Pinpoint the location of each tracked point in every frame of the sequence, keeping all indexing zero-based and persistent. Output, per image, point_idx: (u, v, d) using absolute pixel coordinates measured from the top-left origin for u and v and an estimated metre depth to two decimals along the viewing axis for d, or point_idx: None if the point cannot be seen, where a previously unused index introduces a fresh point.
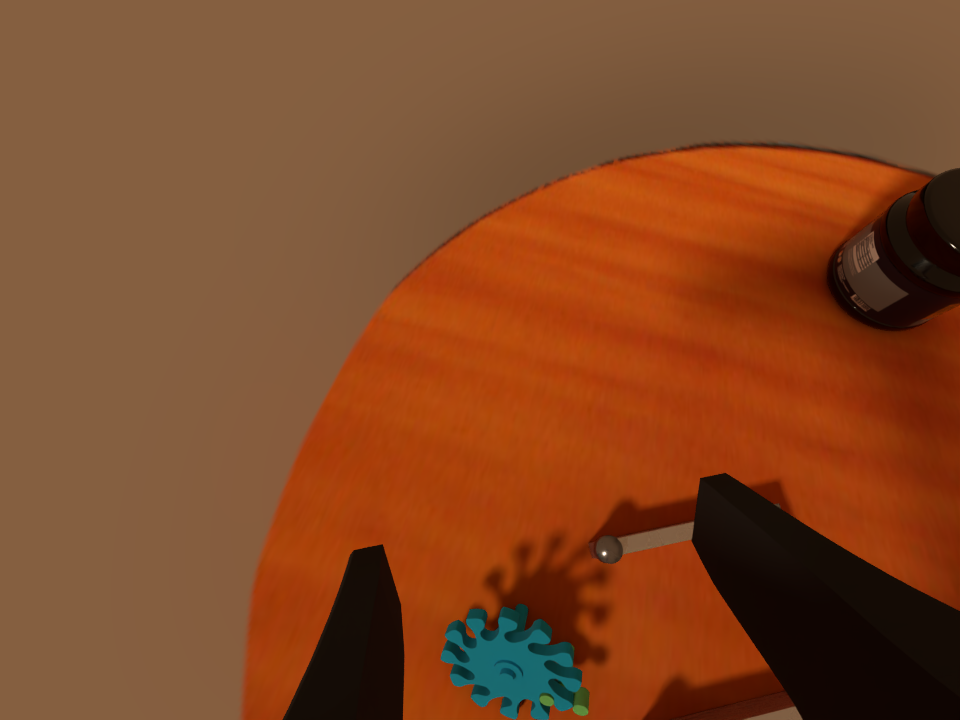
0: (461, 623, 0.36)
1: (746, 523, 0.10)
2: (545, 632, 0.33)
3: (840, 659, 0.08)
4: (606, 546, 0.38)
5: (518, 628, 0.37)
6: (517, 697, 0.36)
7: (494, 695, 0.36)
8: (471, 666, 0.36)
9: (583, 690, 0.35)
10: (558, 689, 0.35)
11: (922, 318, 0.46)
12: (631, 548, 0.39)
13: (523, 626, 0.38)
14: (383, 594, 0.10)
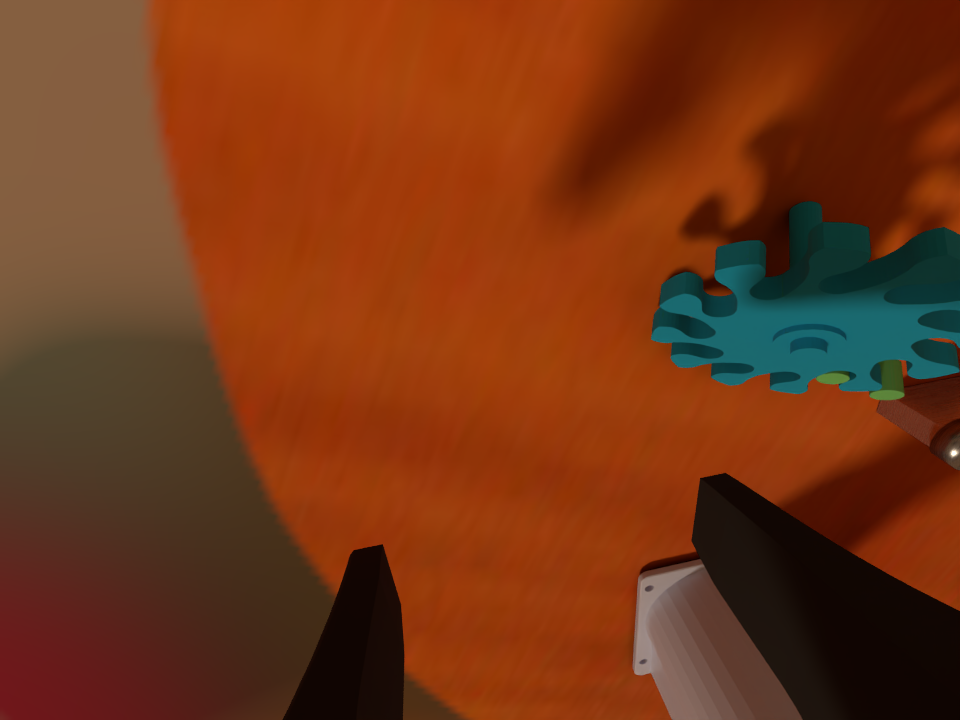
0: (761, 247, 0.14)
1: (746, 523, 0.10)
2: None
3: (840, 659, 0.08)
4: None
5: None
6: (773, 368, 0.19)
7: (726, 360, 0.19)
8: (724, 323, 0.17)
9: (899, 365, 0.19)
10: None
11: None
12: None
13: None
14: (383, 594, 0.10)
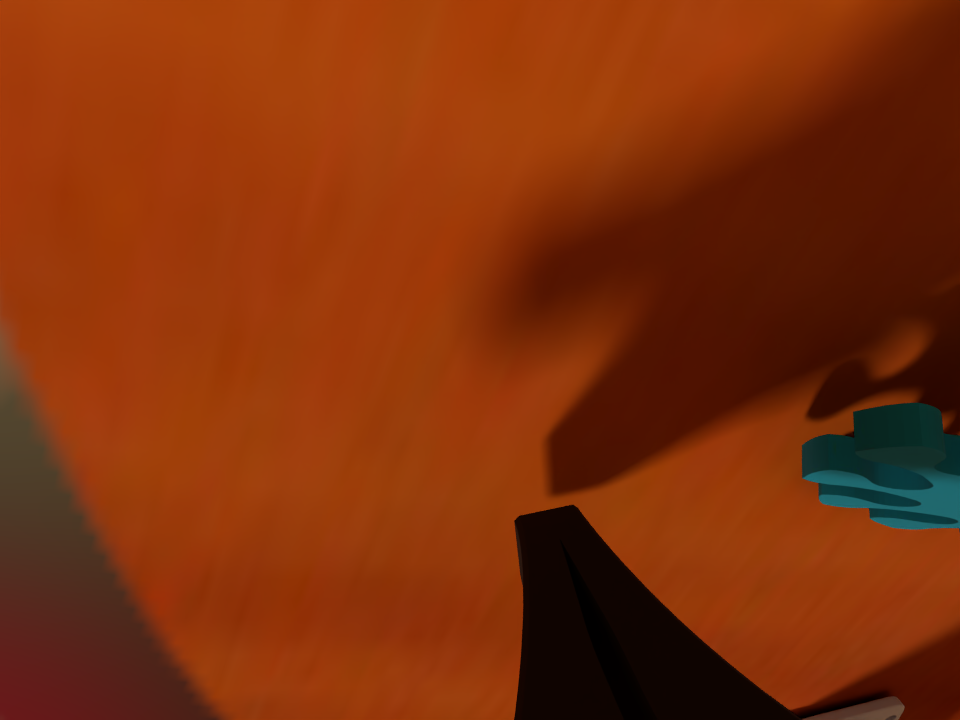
0: None
1: (569, 561, 0.09)
2: None
3: (629, 711, 0.08)
4: None
5: None
6: None
7: (917, 511, 0.12)
8: None
9: None
10: None
11: None
12: None
13: None
14: None
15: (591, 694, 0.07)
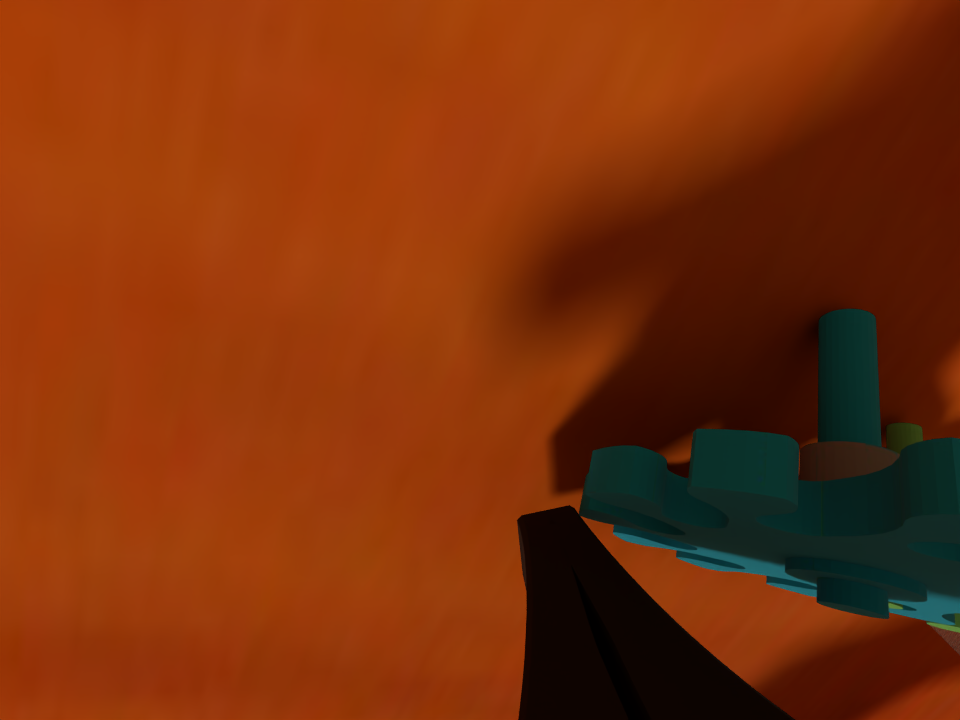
0: (789, 445, 0.07)
1: (566, 562, 0.09)
2: None
3: None
4: None
5: (876, 411, 0.10)
6: (777, 575, 0.11)
7: (701, 554, 0.12)
8: (701, 531, 0.09)
9: None
10: None
11: None
12: None
13: None
14: None
15: (595, 693, 0.07)
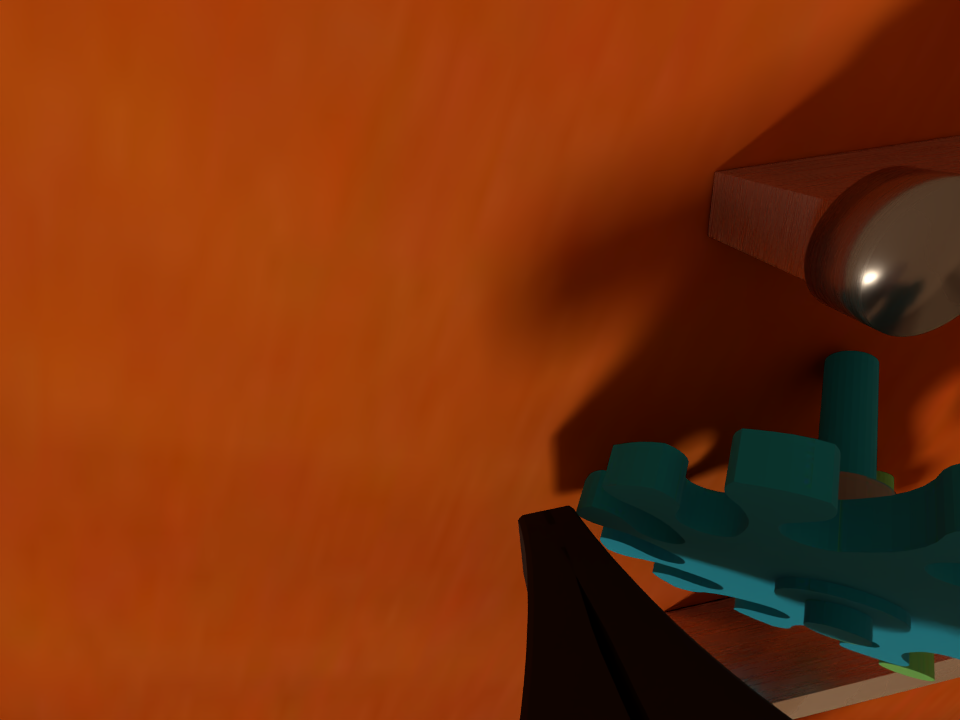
0: (829, 454, 0.07)
1: (565, 563, 0.09)
2: None
3: None
4: (933, 246, 0.06)
5: (875, 449, 0.10)
6: (754, 598, 0.12)
7: (685, 569, 0.12)
8: (705, 539, 0.09)
9: None
10: None
11: None
12: None
13: None
14: None
15: (597, 693, 0.07)
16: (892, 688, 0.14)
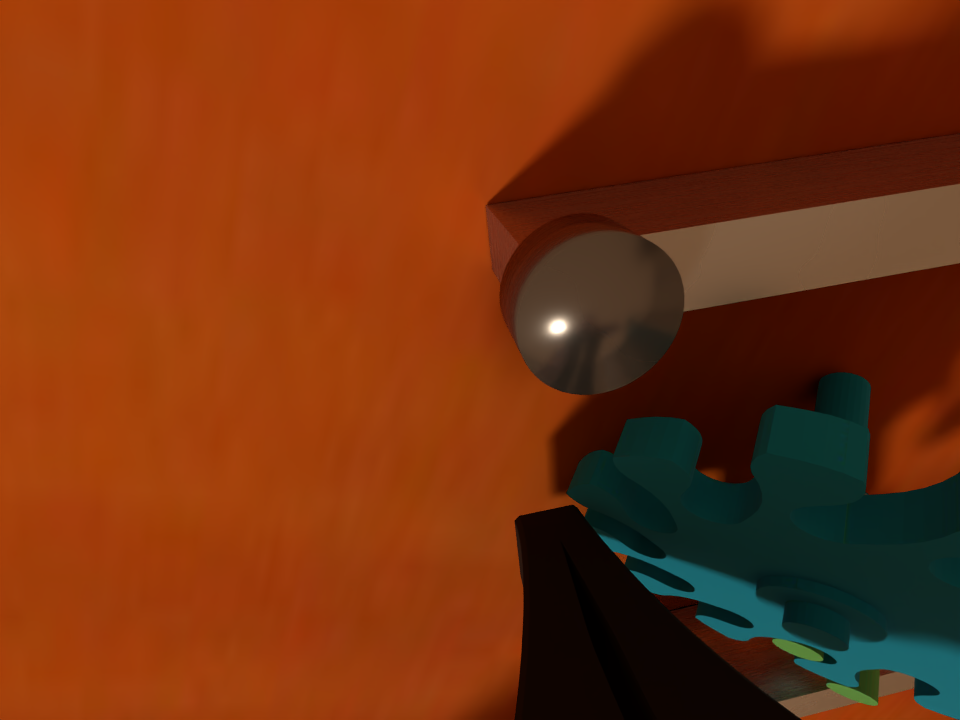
0: (857, 440, 0.07)
1: (569, 561, 0.09)
2: None
3: (628, 711, 0.08)
4: (586, 304, 0.06)
5: None
6: (724, 604, 0.12)
7: (662, 566, 0.12)
8: (701, 527, 0.09)
9: None
10: None
11: None
12: (709, 287, 0.07)
13: None
14: None
15: (591, 694, 0.07)
16: None
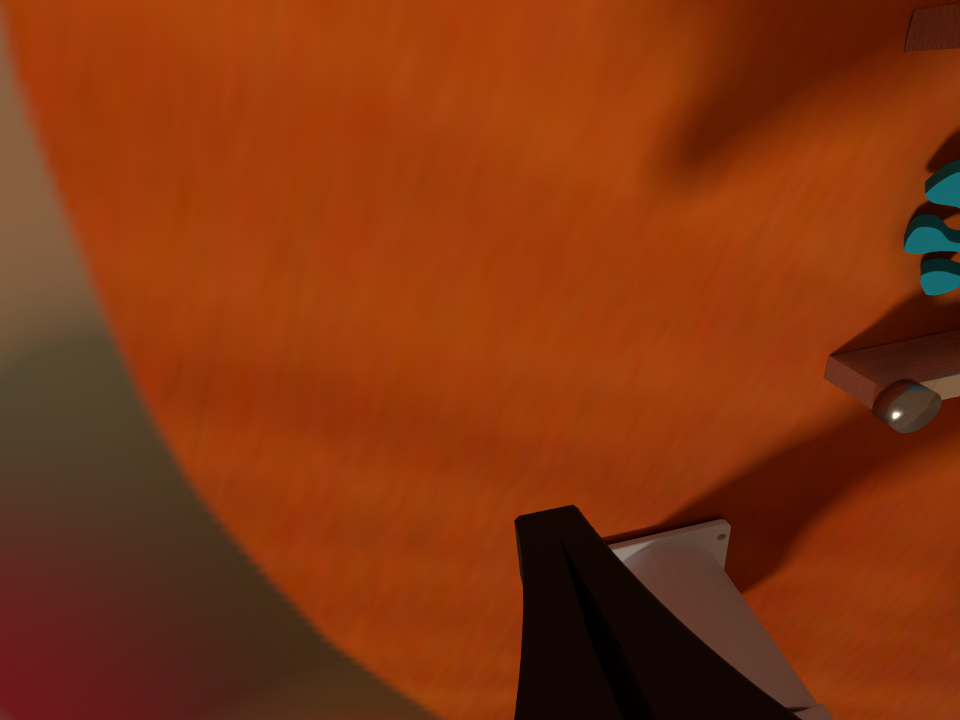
0: None
1: (570, 562, 0.09)
2: None
3: (629, 711, 0.08)
4: None
5: None
6: None
7: None
8: None
9: None
10: None
11: None
12: None
13: None
14: None
15: (591, 694, 0.07)
16: None
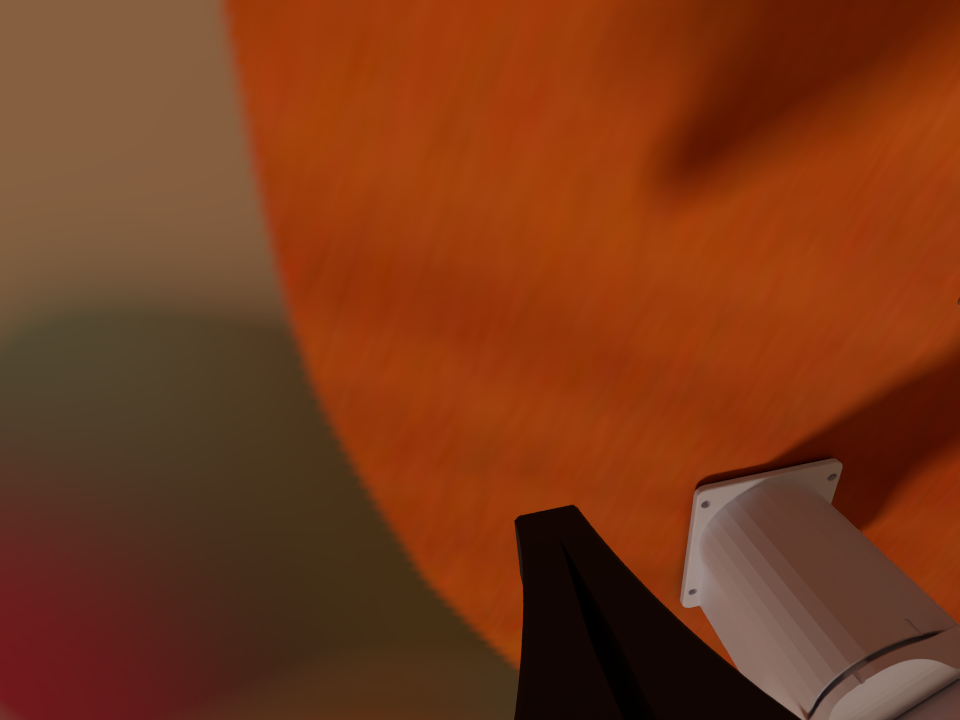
0: None
1: (570, 561, 0.09)
2: None
3: (629, 711, 0.08)
4: None
5: None
6: None
7: None
8: None
9: None
10: None
11: None
12: None
13: None
14: None
15: (591, 694, 0.07)
16: None
